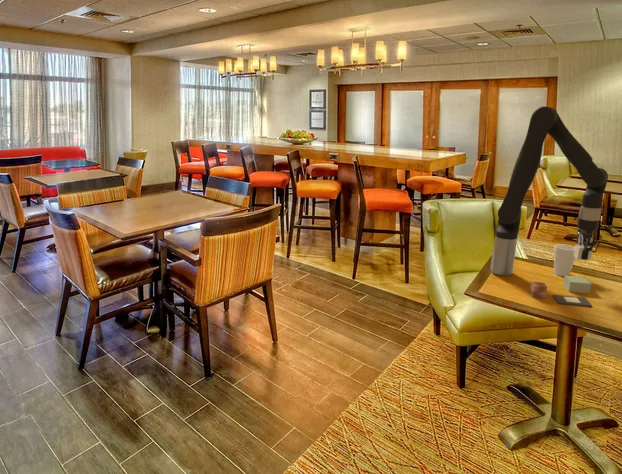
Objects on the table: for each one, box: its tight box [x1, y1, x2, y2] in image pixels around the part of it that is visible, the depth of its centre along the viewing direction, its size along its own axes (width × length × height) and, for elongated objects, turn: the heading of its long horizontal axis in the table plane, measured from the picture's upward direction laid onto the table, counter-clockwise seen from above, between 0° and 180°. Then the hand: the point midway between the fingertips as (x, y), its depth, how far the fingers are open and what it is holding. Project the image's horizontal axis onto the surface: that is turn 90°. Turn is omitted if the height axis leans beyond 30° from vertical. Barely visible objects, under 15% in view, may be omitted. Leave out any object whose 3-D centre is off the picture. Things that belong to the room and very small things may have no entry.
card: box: [552, 294, 593, 308], centre depth 184 cm, size 12×8×1 cm, turn 78°
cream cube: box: [574, 244, 593, 262], centre depth 193 cm, size 5×5×5 cm
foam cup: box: [553, 243, 576, 277], centre depth 212 cm, size 10×9×13 cm
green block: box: [562, 275, 592, 294], centre depth 197 cm, size 8×8×4 cm
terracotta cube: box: [529, 281, 548, 300], centre depth 189 cm, size 5×5×5 cm
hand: (582, 257), depth 193 cm, fingers closed on cream cube, 5 cm apart
